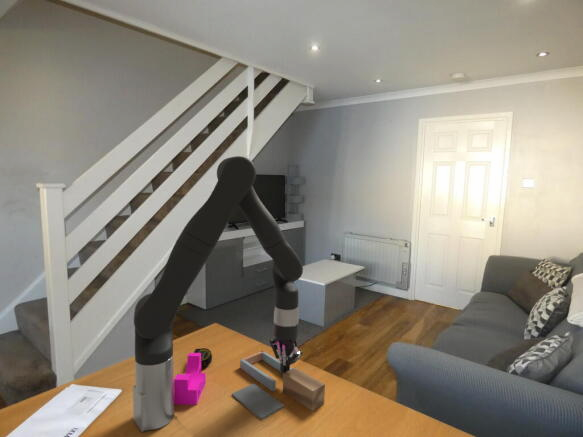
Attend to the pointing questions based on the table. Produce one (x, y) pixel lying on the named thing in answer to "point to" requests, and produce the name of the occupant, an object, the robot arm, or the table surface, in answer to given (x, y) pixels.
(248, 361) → the channel
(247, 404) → the mat
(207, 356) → the tape measure
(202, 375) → the toy block
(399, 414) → the table surface
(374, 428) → the table surface
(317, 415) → the table surface
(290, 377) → the block
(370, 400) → the table surface
